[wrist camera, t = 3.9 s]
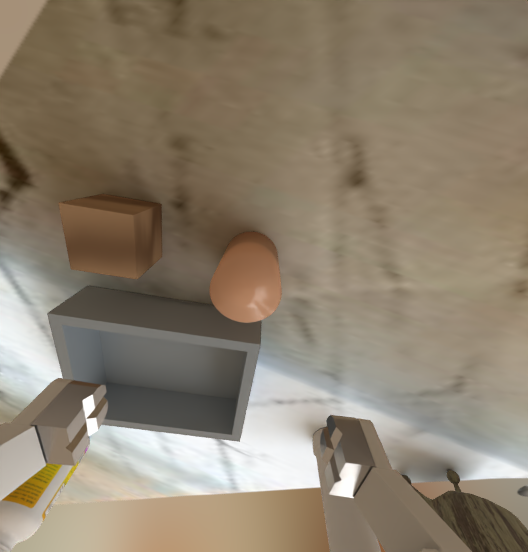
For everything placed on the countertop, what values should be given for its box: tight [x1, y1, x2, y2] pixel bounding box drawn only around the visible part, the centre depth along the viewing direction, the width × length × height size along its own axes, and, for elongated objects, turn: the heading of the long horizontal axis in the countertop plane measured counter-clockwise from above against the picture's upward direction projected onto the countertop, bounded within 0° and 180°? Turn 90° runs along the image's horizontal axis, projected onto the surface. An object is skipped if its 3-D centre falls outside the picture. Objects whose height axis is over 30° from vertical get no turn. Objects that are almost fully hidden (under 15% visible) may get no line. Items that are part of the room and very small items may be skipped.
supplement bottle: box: [0, 439, 90, 552], centre depth 30 cm, size 7×7×13 cm
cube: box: [59, 194, 162, 279], centre depth 20 cm, size 5×5×5 cm
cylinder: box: [210, 232, 282, 323], centre depth 20 cm, size 5×5×7 cm
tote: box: [47, 286, 261, 442], centre depth 26 cm, size 14×18×5 cm
